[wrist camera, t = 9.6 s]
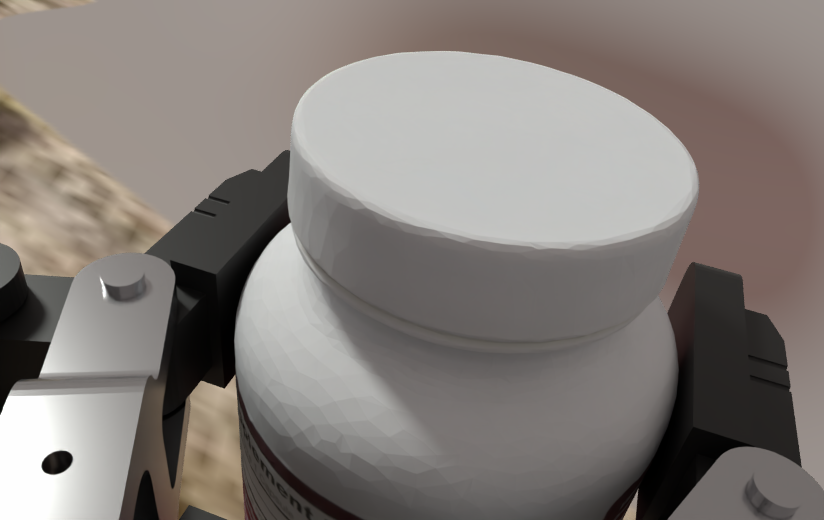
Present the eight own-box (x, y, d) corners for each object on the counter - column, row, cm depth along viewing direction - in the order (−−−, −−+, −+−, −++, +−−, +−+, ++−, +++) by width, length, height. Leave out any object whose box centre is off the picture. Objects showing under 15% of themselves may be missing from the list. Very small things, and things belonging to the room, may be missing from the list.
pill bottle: (437, 437, 18) (531, 10, 12) (609, 655, 14) (897, 204, 8) (201, 547, 15) (143, 54, 9) (340, 861, 11) (433, 411, 5)
